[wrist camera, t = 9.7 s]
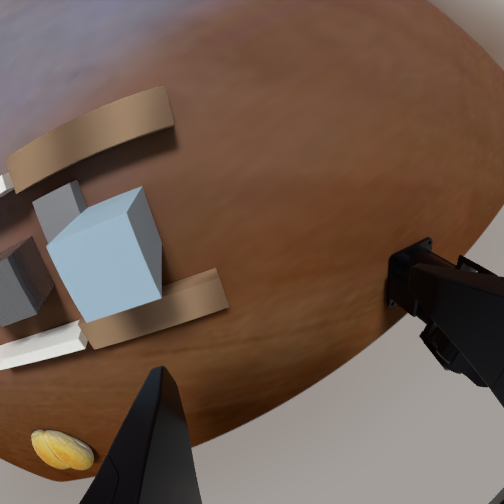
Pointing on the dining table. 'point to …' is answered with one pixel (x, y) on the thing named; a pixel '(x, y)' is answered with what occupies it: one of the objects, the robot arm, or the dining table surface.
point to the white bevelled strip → (44, 342)
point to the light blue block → (103, 249)
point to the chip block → (22, 282)
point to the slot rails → (89, 144)
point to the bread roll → (62, 450)
